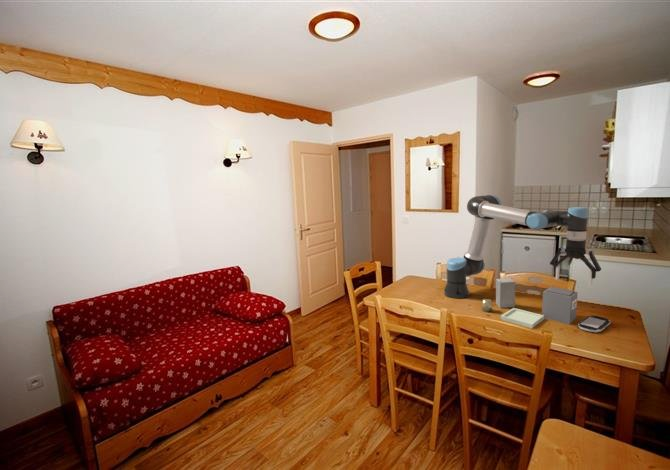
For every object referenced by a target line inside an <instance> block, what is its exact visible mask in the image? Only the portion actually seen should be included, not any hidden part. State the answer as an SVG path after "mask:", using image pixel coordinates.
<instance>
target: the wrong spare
mask: <svg viewBox="0 0 670 470" xmlns="http://www.w3.org/2000/svg"><path fill="white" fill-rule="evenodd" d="M481 311H482V312H484V313H492V311H493V300H492V299H489V298H482V299H481Z"/></svg>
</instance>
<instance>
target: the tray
mask: <svg viewBox="0 0 670 470" xmlns="http://www.w3.org/2000/svg"><path fill="white" fill-rule="evenodd" d="M500 320H501V321H504V322H508V323H512V324H515V325H518V326H521V327H522V326H523V327H526V328H530V329H533V328H534V327H536V326H537V325H539V324H540V323H541V322H542V321H543V320H545V318H544V315H542V314H539V313H536V312H531V311H527V310H524V309H519V308H515V307H511V309H510V310H507V311H506V312H504V313H503V314H501V315H500Z"/></svg>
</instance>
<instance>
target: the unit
mask: <svg viewBox="0 0 670 470" xmlns="http://www.w3.org/2000/svg"><path fill="white" fill-rule="evenodd" d="M541 305H542V306H541V307H542V308H541V309H542V310H541V311H542V312H541V315H544V319H546V320H551V321H555V322H558V323H563V324H566V325H570V324H572V322H574V321H575V320H576V319H577V310H578V291H575V290H571V289H567V288H560V287H556V286H550V287H548V288H546V289H545V290H544V291H542V304H541Z"/></svg>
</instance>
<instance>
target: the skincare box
mask: <svg viewBox="0 0 670 470" xmlns="http://www.w3.org/2000/svg"><path fill="white" fill-rule="evenodd" d="M515 297H516V281H515V280H513V279H512V278H510V277H509V278H508V277H507V278H496V279H495V305H497V306H498V307H499V308H500V309H504V308H515V307H516V306H515V305H516V299H515Z"/></svg>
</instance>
